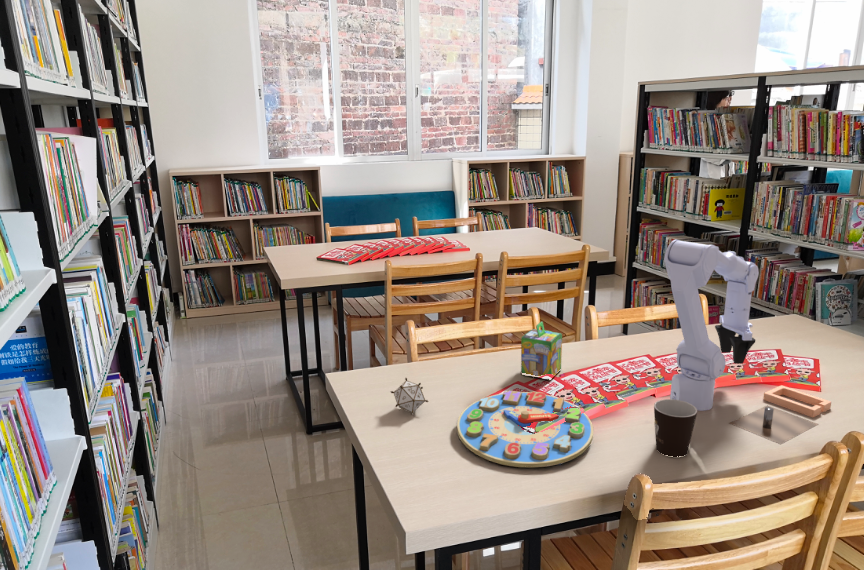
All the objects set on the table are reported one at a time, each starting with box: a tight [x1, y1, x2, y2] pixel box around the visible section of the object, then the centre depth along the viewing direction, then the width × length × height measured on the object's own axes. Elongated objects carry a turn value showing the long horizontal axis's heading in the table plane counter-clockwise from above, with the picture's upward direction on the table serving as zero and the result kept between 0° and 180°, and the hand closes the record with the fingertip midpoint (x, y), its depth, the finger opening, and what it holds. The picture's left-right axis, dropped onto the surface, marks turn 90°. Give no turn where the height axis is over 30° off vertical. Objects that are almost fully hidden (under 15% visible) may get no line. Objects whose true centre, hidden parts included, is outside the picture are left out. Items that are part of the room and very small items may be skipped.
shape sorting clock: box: [456, 390, 594, 468], centre depth 143 cm, size 31×30×6 cm
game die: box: [390, 377, 429, 414], centre depth 156 cm, size 9×8×10 cm
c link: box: [762, 384, 832, 419], centre depth 154 cm, size 12×8×3 cm, turn 33°
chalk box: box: [520, 321, 563, 376], centre depth 177 cm, size 9×9×15 cm
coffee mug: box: [653, 398, 698, 458], centre depth 136 cm, size 12×9×10 cm
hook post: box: [763, 406, 774, 429], centre depth 143 cm, size 2×2×4 cm
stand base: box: [729, 405, 819, 445], centre depth 145 cm, size 16×12×1 cm
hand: (731, 357), depth 162 cm, fingers open, 7 cm apart
